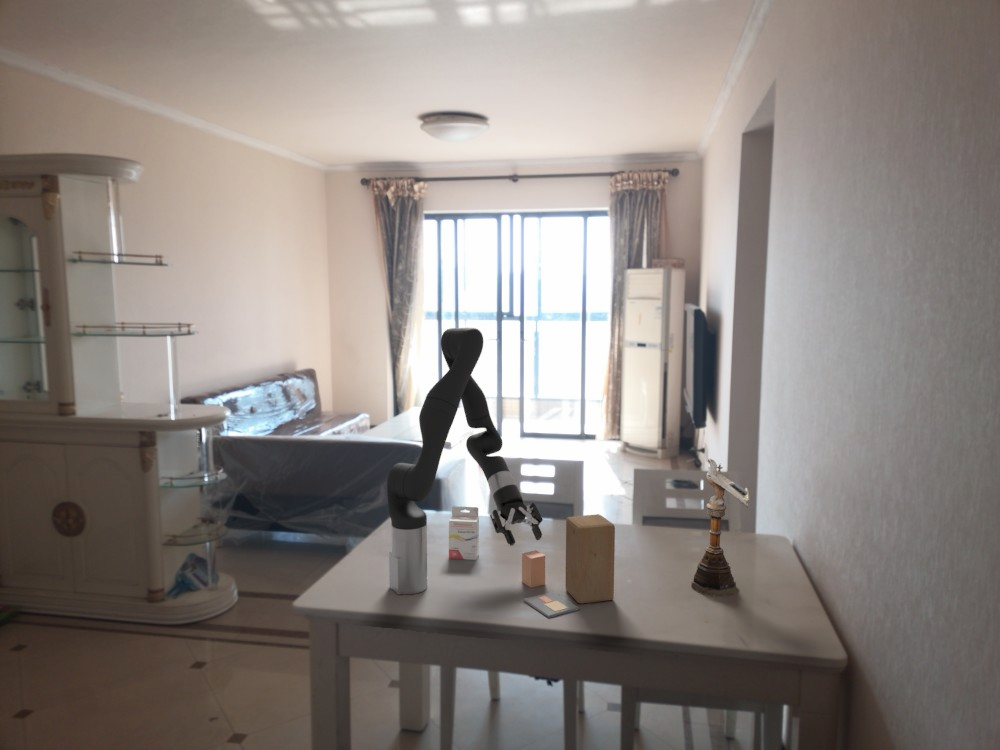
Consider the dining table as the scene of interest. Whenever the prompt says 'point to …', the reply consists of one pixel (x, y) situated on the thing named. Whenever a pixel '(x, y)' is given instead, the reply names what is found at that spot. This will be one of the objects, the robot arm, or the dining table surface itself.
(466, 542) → the ink cartridge box
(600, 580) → the wooden block
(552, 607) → the tile
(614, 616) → the dining table surface
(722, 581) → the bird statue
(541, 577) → the terracotta block
